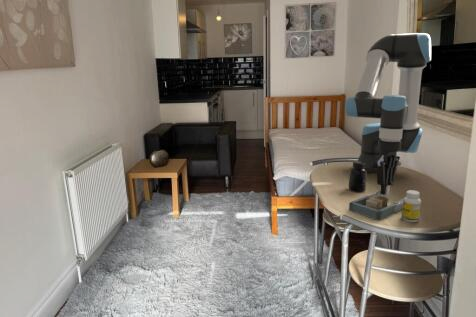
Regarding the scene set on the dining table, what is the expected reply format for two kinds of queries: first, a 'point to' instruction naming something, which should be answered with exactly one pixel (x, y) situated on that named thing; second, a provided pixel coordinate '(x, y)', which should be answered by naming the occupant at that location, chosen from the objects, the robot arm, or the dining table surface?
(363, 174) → the supplement bottle
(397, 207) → the slot rails
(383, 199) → the brown cube
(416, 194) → the supplement bottle
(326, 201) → the dining table surface
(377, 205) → the beige cube
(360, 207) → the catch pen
